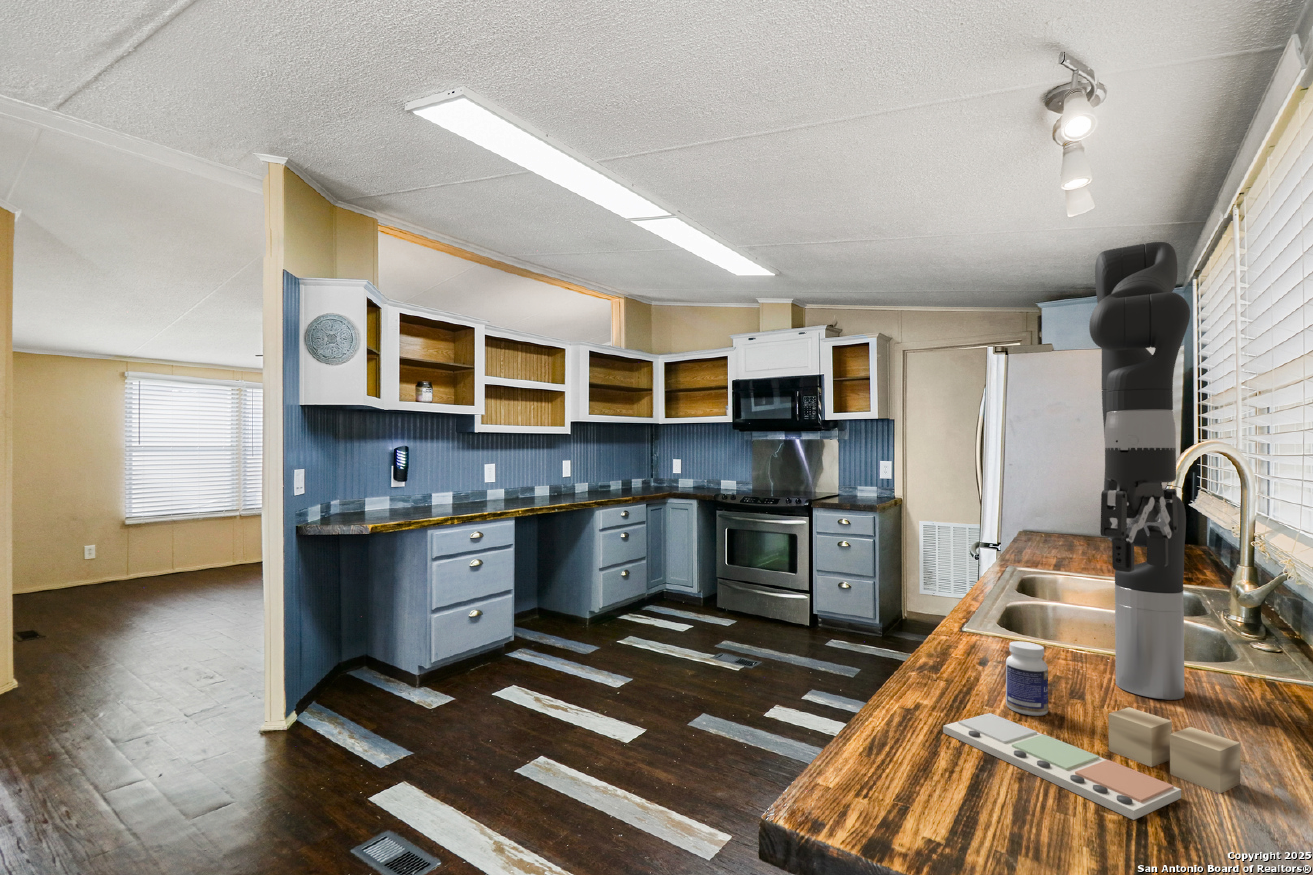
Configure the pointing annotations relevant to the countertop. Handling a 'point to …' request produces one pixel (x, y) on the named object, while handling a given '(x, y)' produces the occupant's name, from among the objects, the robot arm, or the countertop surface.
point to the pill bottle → (1027, 679)
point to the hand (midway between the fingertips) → (1140, 568)
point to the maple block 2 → (1205, 759)
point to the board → (1066, 765)
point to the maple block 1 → (1140, 736)
